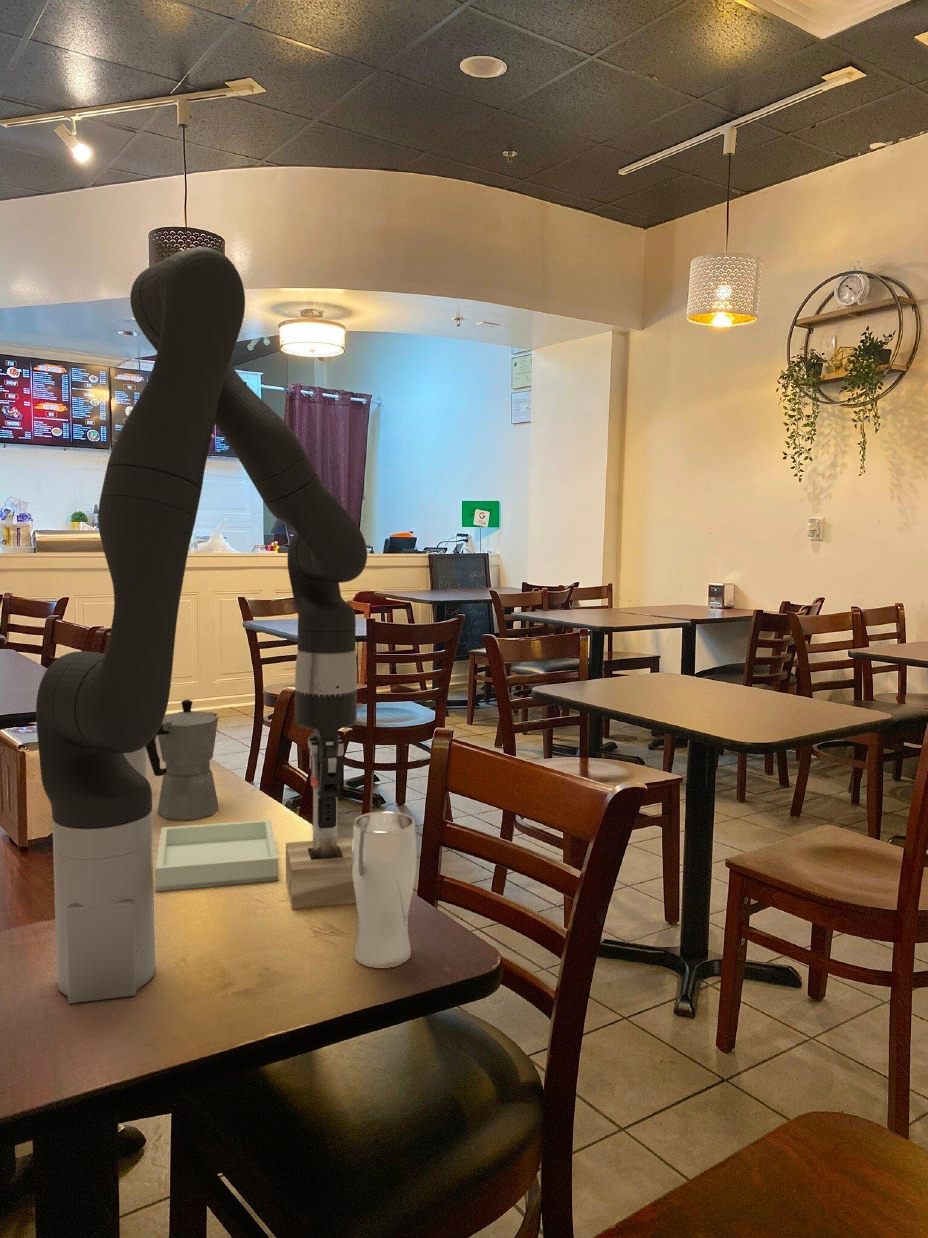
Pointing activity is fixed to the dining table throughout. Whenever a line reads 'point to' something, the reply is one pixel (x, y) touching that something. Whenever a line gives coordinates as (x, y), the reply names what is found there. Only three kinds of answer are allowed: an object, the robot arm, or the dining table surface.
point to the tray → (216, 855)
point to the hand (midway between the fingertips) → (325, 821)
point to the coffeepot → (185, 764)
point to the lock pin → (323, 831)
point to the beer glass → (383, 886)
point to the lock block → (319, 876)
